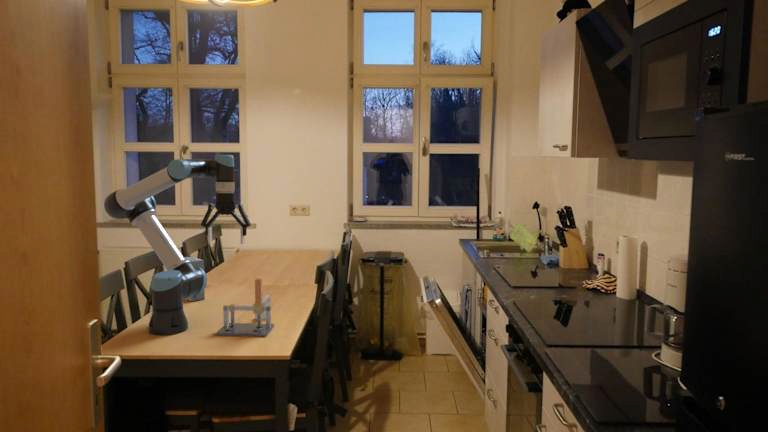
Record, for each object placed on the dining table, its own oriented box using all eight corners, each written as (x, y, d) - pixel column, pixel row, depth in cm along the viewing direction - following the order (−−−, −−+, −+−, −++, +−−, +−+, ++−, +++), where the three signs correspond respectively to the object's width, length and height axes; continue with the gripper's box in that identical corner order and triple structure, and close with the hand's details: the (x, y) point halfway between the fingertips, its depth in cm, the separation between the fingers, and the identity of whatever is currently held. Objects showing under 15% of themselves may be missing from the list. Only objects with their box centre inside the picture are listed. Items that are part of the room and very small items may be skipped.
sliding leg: (253, 327, 222) (253, 280, 220) (256, 324, 226) (255, 278, 224) (262, 327, 222) (261, 280, 220) (264, 324, 225) (264, 278, 224)
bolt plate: (216, 335, 216) (216, 332, 216) (226, 325, 229) (226, 322, 229) (266, 336, 215) (266, 333, 215) (274, 326, 228) (274, 323, 228)
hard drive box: (205, 299, 272) (204, 260, 270) (190, 302, 266) (189, 262, 264) (190, 294, 282) (189, 256, 280) (175, 296, 277) (174, 257, 275)
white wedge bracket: (278, 309, 245) (270, 295, 241) (263, 325, 239) (254, 310, 235) (273, 308, 247) (265, 293, 243) (257, 323, 241) (249, 308, 237)
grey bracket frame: (223, 327, 223) (223, 305, 222) (225, 325, 226) (224, 304, 225) (269, 328, 222) (269, 306, 222) (270, 326, 225) (270, 304, 224)
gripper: (191, 192, 222) (193, 244, 224) (252, 193, 221) (253, 245, 223) (198, 191, 229) (200, 241, 231) (257, 192, 228) (258, 242, 230)
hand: (226, 243), depth 227 cm, fingers open, 13 cm apart
